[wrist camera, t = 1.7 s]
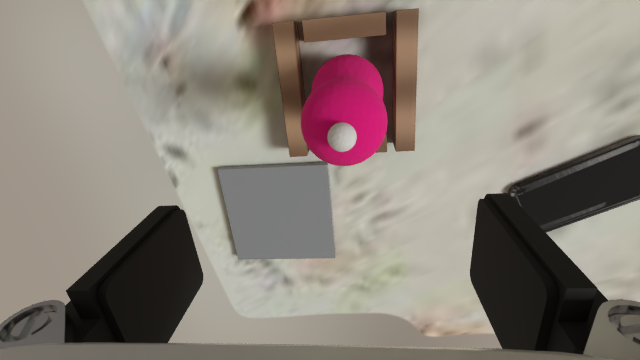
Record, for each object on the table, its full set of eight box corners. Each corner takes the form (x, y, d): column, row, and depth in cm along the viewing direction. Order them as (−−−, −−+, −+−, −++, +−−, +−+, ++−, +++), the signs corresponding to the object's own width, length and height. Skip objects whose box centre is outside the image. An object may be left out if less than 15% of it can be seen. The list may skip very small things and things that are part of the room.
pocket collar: (278, 23, 35) (271, 23, 33) (413, 9, 34) (418, 8, 31) (294, 148, 41) (289, 156, 39) (410, 141, 40) (414, 150, 37)
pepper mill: (375, 120, 39) (393, 202, 21) (313, 114, 39) (278, 190, 21) (385, 54, 36) (416, 83, 18) (318, 48, 36) (281, 71, 18)
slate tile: (220, 166, 43) (217, 169, 42) (327, 161, 42) (327, 164, 41) (240, 255, 49) (238, 259, 48) (335, 253, 47) (335, 258, 46)
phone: (508, 190, 40) (651, 133, 36) (504, 186, 41) (643, 130, 37) (527, 239, 43) (663, 192, 38) (523, 234, 44) (655, 187, 39)
